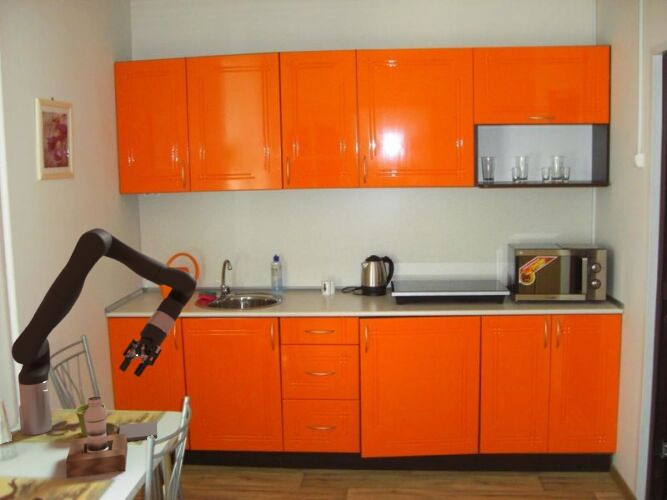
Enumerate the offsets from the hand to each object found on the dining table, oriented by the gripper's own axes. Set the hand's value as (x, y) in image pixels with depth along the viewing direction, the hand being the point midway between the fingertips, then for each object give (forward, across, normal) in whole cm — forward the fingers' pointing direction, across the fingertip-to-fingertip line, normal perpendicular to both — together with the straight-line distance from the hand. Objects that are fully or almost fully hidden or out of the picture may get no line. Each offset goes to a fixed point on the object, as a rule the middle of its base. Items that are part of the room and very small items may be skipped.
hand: (128, 372), depth 207 cm
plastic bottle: (+26, 0, +9) cm, 28 cm away
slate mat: (+12, -11, +23) cm, 28 cm away
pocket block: (+26, 0, +8) cm, 27 cm away
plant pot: (+19, -22, +15) cm, 33 cm away
